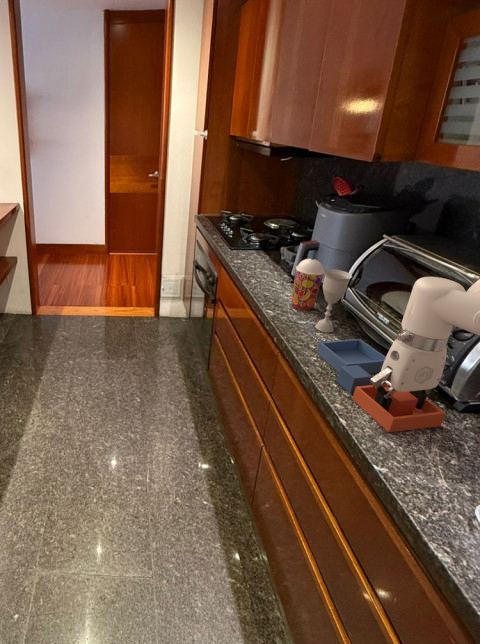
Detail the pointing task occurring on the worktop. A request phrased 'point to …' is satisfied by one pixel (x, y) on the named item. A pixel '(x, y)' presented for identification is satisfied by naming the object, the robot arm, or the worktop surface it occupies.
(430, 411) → the terracotta bin
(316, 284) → the smoothie
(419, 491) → the worktop surface
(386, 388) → the terracotta block
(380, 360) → the blue bin
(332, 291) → the chalice
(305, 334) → the worktop surface
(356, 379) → the blue cubic block piece
